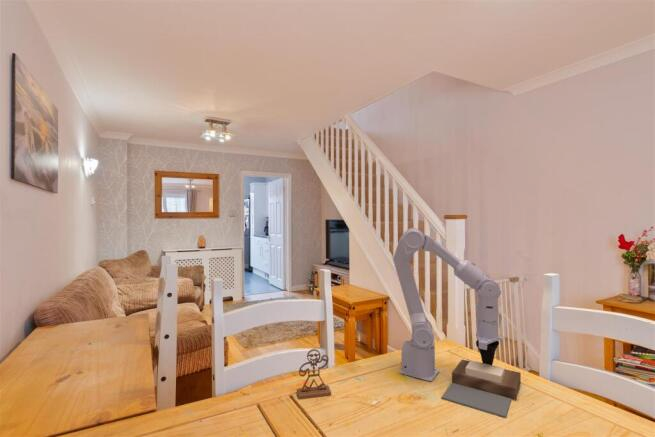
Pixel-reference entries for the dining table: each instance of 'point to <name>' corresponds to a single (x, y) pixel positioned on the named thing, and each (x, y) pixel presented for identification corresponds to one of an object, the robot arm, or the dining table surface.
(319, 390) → the gingerbread man figurine
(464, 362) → the block
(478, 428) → the dining table surface
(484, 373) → the tile
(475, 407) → the mat
